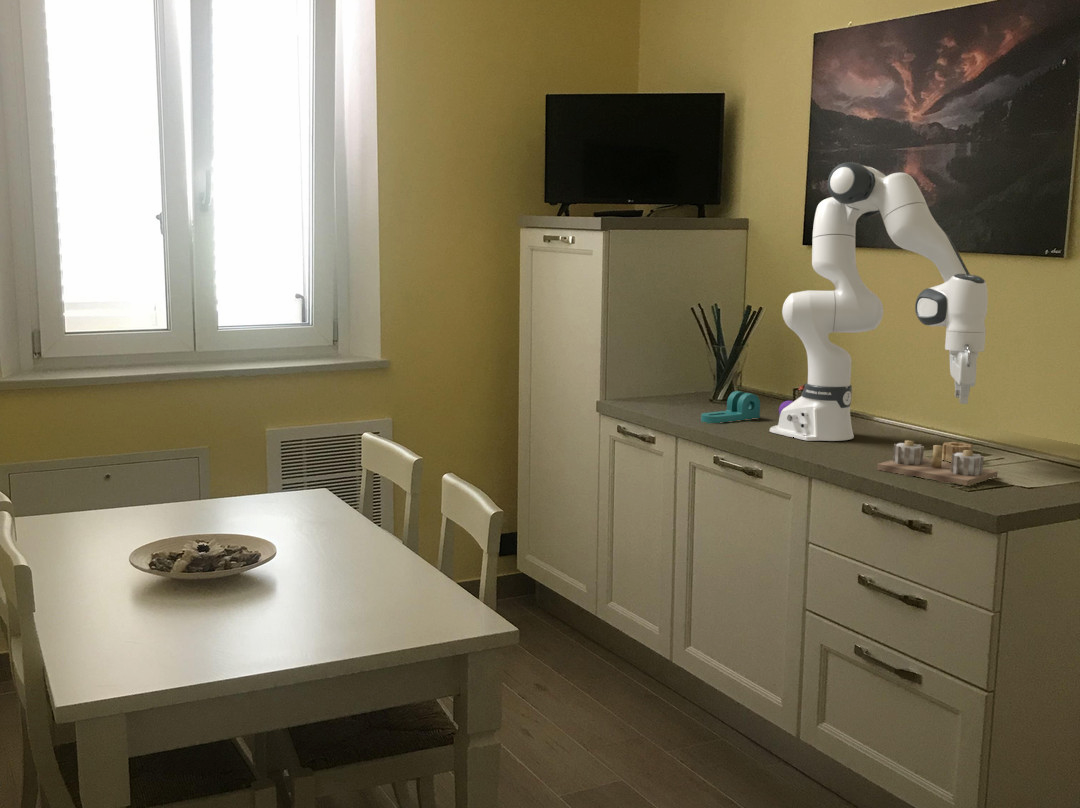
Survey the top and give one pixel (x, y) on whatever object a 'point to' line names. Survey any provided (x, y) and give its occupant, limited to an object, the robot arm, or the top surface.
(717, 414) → the bracket
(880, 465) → the gear board
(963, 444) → the oak gear
